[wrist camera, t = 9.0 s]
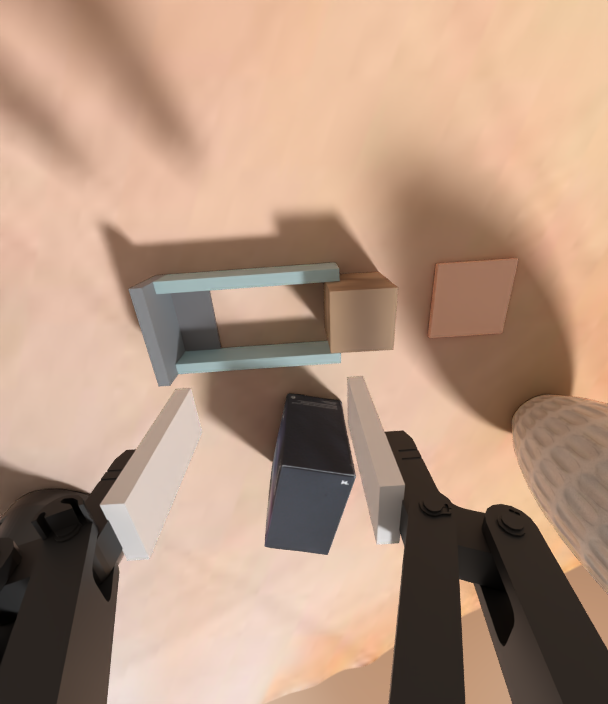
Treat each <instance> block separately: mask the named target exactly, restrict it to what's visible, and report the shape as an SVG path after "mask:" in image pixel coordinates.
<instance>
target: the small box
mask: <svg viewBox="0 0 608 704" xmlns="http://www.w3.org/2000/svg"><path fill="white" fill-rule="evenodd" d="M355 478H356V475H355V470H354V464H353V460H352V455H351V450H350V444H349V439H348V436H347V431H346V425H345V420H344V414H343V408H342V402H341V401H338V400H329V399H323V398H317V397H311V396H305V395H299V394H287V397H286V401H285V405H284V409H283V414H282V418H281V423H280V428H279V432H278V437H277V442H276V447H275V452H274V458H273V464H272V471H271V479H270V489H269V498H268V508H267V519H266V533H265V547H269V548H276V549H284V550H293V551H302V552H310V553H317V554H324V555H328V553H329V550H330V547H331V545H332V542H333V539H334V536H335V534H336V531H337V528H338V525H339V523H340V520H341V517H342V514H343V511H344V508H345V506H346V503H347V500H348V498H349V495H350V492H351V489H352V486H353V483H354V481H355Z"/></svg>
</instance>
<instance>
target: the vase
mask: <svg viewBox="0 0 608 704" xmlns="http://www.w3.org/2000/svg"><path fill="white" fill-rule="evenodd" d="M512 437H513V446H514V451H515V454H516V457H517V461H518V464H519V467H520V469H521V471H522V474H523V476H524V478H525V481H526V483H527V485H528V487H529V489H530V491H531V493H532V495H533V497H534V498H535V500H536V502H537V503H538V505H539V507H540V508H541V510H542V512H543V513H544V515H545V516H546V518H547V519H548V520H549V522H550V523H551V525H552V526H553V528H554V529H555V530H556V532H557V533H558V535H559V536H560V537H561V539H562V540H563V541H564V543H565V544H566V545H567V546H568V548H569V549H570V550H571V551H572V553H573V554H574V555H575V556H576V558H577V559H578V560H579V561H580V563H581V564H582V565H583V566H584V568H585V569H586V570H587V571H588V572H589V573H590V575H591V576H592V577H593V578H594V579H595V580H596V582H597V583H598V584H599V585H600V586H601V587H602V588H603V590H604V591H605V592H606V593H607V594H608V403H604V402H599V401H595V400H591V399H587V398H581V397H573V396H563V395H541V396H537V397H535V398H532V399H530V400H528V401H527V402H525V403H524V404H523V405H522V406H520V407H519V409H518V410H517V411H516V412H515V414H514V416H513V419H512Z"/></svg>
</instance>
